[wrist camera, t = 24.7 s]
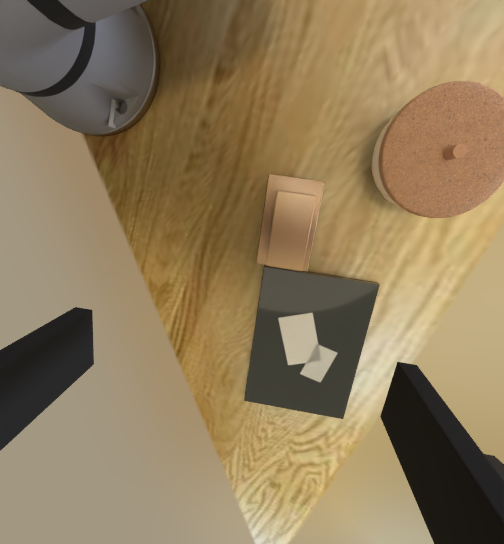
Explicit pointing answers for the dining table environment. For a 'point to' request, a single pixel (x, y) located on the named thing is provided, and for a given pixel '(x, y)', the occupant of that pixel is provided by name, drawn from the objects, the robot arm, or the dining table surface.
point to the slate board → (308, 340)
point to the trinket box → (442, 150)
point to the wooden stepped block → (289, 222)
